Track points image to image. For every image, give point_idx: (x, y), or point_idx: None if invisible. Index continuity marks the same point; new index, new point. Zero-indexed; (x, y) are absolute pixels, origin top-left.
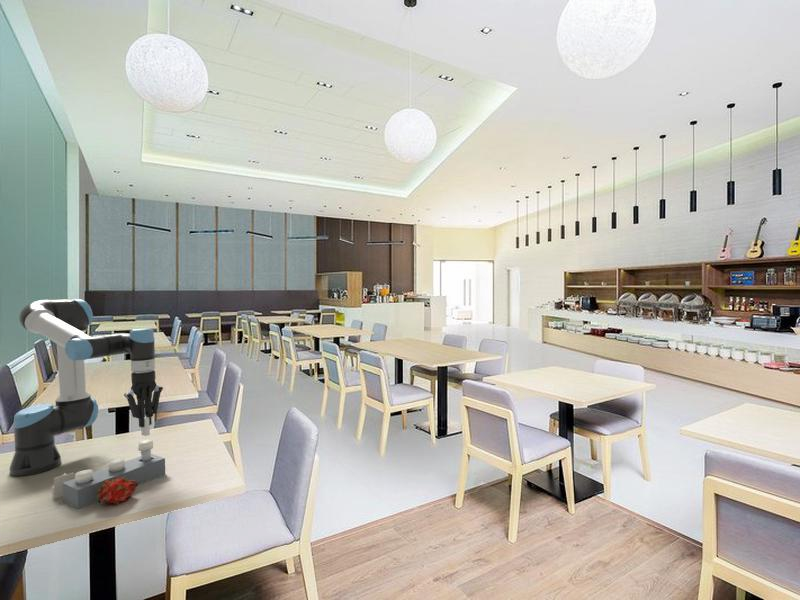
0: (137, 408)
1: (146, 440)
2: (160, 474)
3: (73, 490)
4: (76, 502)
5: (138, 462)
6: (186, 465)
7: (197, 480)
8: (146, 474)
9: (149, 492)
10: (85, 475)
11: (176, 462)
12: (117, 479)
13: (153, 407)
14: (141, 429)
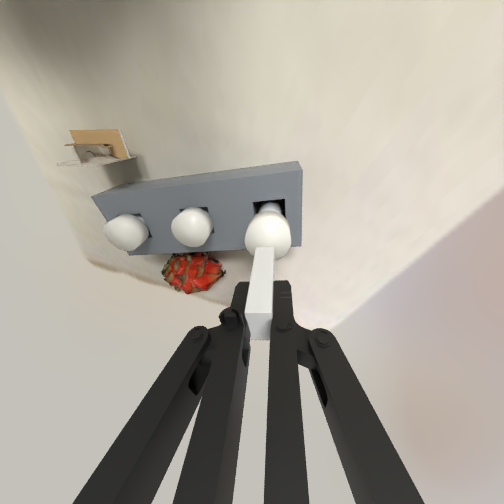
0: (187, 426)
1: (276, 230)
2: None
3: None
4: None
5: (247, 219)
6: (353, 220)
7: (309, 289)
8: None
9: (243, 269)
10: (127, 249)
11: (359, 180)
12: (187, 282)
13: (341, 378)
14: (253, 264)
